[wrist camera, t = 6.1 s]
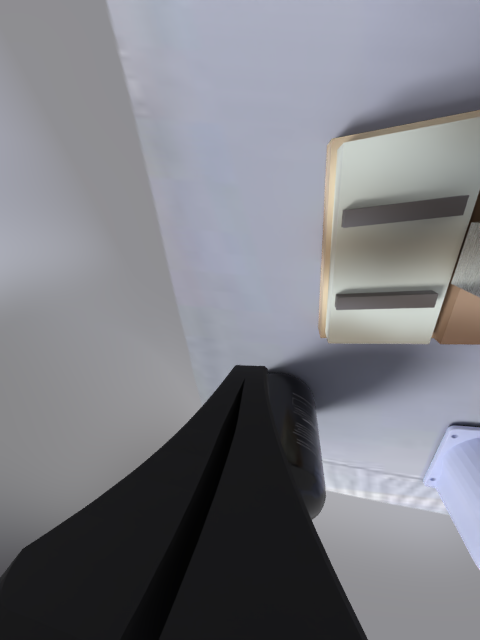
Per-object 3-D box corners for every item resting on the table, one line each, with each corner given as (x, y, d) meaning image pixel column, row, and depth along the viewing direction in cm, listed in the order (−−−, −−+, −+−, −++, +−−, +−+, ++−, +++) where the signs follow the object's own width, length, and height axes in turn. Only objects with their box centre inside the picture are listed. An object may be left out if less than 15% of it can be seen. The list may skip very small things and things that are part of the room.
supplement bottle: (239, 371, 22) (194, 525, 11) (311, 368, 20) (336, 550, 9) (253, 418, 24) (227, 575, 14) (316, 419, 23) (340, 601, 12)
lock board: (519, 326, 15) (629, 384, 10) (318, 328, 18) (329, 373, 13) (646, 85, 9) (1020, -41, 5) (326, 146, 12) (351, 108, 8)
